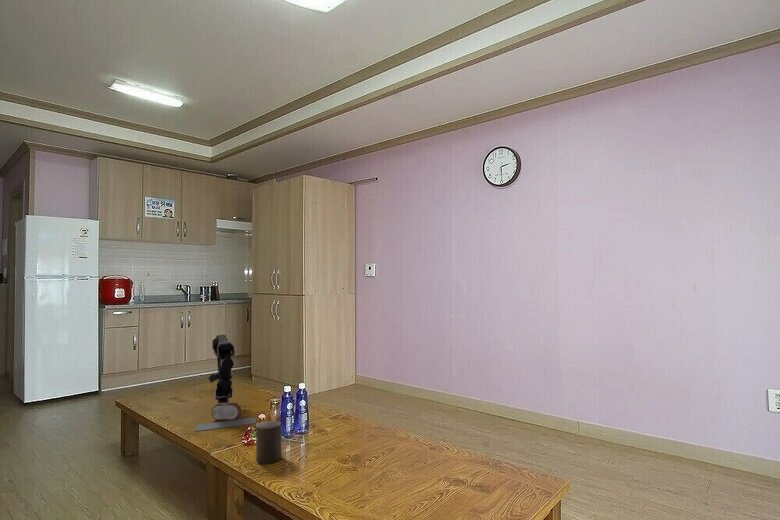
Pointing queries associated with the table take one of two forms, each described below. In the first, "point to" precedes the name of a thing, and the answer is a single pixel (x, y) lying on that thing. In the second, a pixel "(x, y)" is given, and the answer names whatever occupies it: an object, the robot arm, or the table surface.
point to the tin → (226, 411)
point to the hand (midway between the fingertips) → (226, 396)
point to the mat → (225, 424)
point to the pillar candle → (268, 442)
